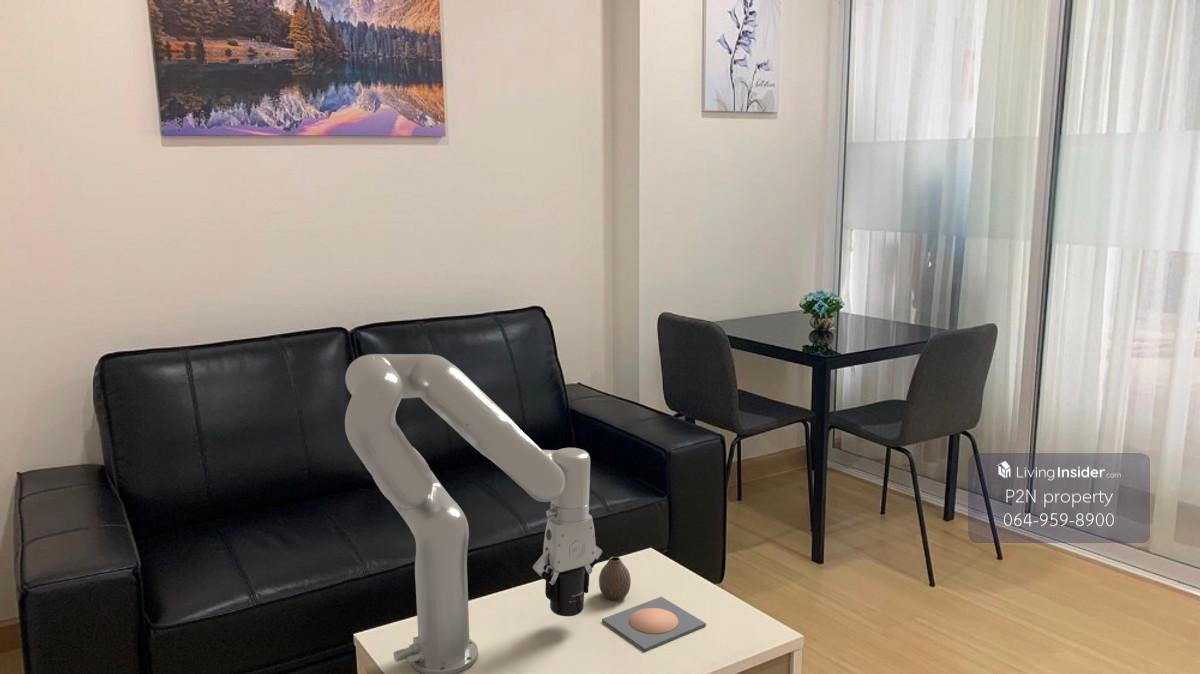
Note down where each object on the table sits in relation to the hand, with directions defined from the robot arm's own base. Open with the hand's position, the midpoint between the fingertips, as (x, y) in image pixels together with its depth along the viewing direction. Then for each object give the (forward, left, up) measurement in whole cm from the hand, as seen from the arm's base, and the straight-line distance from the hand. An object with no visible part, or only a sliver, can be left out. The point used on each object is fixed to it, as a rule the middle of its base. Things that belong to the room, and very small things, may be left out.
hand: (567, 594), depth 172 cm
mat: (+15, -9, -7) cm, 19 cm away
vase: (+16, +5, -8) cm, 18 cm away
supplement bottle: (0, 0, -3) cm, 3 cm away
